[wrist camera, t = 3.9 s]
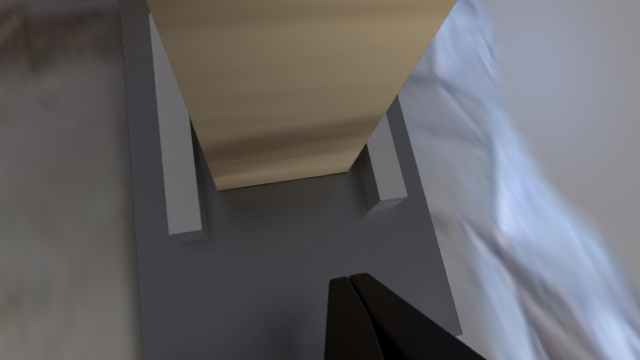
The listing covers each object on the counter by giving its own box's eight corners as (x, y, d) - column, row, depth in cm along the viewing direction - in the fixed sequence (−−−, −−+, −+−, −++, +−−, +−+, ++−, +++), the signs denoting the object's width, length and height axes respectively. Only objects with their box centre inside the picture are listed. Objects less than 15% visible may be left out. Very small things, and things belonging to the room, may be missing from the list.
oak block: (347, 171, 19) (477, -32, 8) (217, 190, 18) (140, -15, 6) (323, 61, 21) (399, -243, 9) (202, 72, 19) (119, -259, 8)
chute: (447, 332, 19) (487, 337, 16) (157, 400, 16) (131, 423, 13) (349, -41, 25) (362, -95, 22) (125, -32, 22) (101, -91, 19)
